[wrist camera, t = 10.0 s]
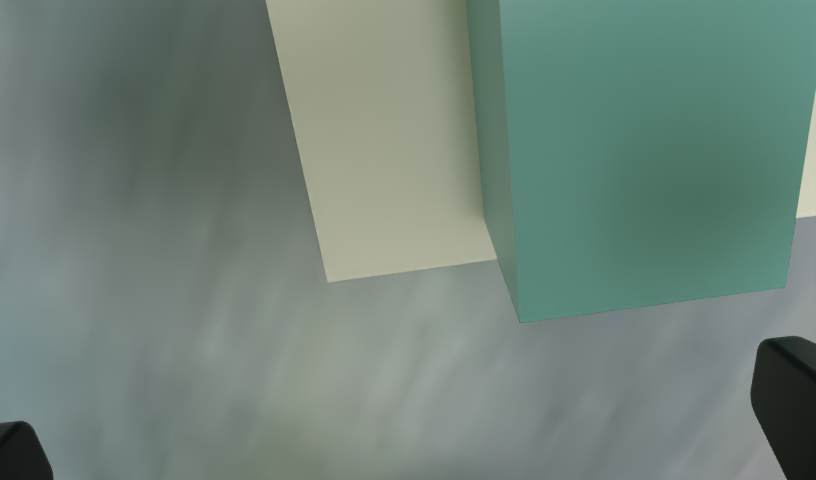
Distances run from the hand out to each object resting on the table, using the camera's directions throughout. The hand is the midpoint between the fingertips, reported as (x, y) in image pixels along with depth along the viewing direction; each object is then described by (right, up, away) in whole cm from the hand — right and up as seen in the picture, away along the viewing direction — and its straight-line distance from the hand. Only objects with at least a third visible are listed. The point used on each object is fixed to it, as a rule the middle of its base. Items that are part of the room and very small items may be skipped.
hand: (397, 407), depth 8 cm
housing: (+4, +8, +8) cm, 12 cm away
